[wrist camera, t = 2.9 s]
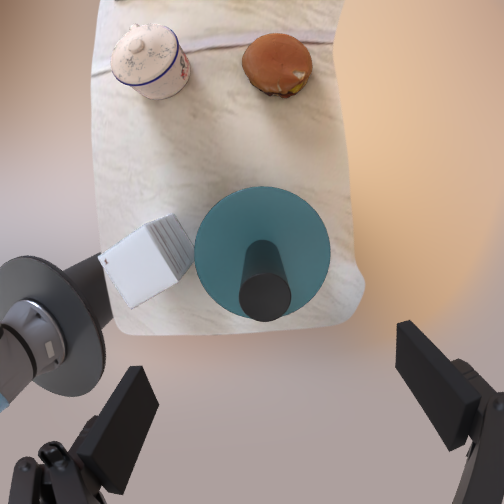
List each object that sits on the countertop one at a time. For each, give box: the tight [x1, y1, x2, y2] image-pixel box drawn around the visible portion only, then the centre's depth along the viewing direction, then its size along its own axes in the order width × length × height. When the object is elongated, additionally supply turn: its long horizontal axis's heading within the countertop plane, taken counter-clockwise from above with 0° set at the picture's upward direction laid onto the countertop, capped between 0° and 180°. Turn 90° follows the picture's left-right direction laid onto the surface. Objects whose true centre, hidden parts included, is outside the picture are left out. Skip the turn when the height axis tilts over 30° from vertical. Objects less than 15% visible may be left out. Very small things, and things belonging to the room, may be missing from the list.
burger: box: [242, 33, 312, 98], centre depth 35 cm, size 10×9×5 cm
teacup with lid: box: [111, 24, 190, 100], centre depth 32 cm, size 12×9×12 cm
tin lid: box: [194, 186, 330, 322], centre depth 27 cm, size 15×15×13 cm
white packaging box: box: [98, 213, 195, 309], centre depth 37 cm, size 7×7×13 cm
